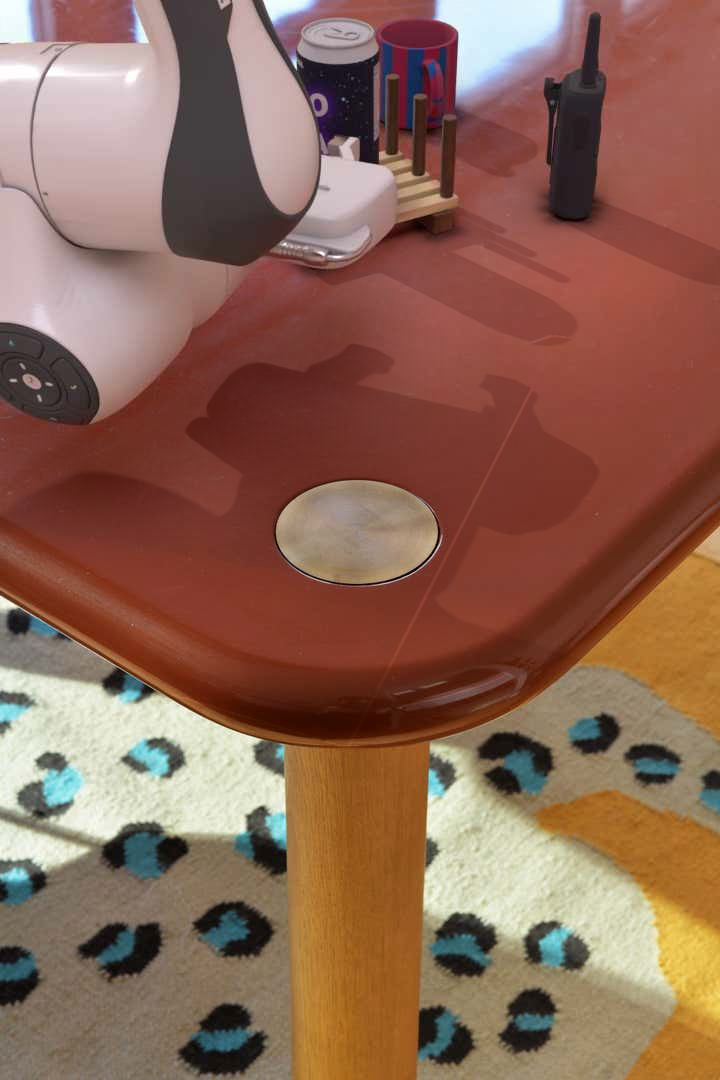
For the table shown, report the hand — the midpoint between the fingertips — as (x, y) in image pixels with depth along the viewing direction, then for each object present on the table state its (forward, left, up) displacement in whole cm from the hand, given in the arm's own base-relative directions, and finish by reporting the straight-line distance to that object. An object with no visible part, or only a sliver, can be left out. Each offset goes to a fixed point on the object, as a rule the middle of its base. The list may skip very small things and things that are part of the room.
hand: (281, 134), depth 87 cm
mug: (+21, +18, -11) cm, 30 cm away
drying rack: (+8, +6, -11) cm, 15 cm away
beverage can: (+7, +6, -9) cm, 13 cm away
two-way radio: (+23, 0, -11) cm, 26 cm away
